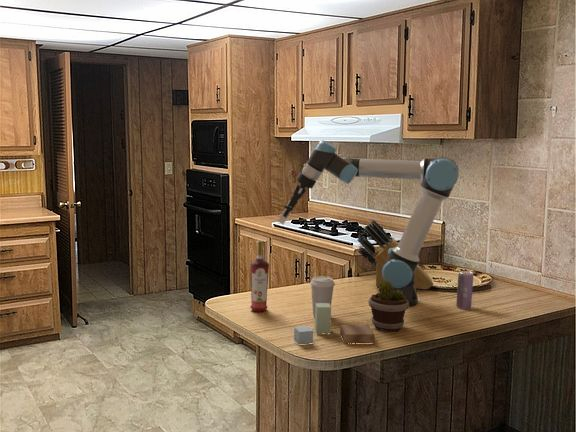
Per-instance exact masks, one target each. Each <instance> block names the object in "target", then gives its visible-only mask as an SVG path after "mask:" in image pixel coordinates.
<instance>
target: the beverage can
mask: <svg viewBox="0 0 576 432" xmlns="http://www.w3.org/2000/svg"><path fill="white" fill-rule="evenodd" d="M457 275H458V276H457V290H456V304H455V306H456V308H457V309H459V310H466V311H467V310H470V309H471V308H472V301H473V300H472V299H473V288H474V287H473V286H474V272H472V271H470V270H460V271H459V272H458V274H457Z"/></svg>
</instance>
